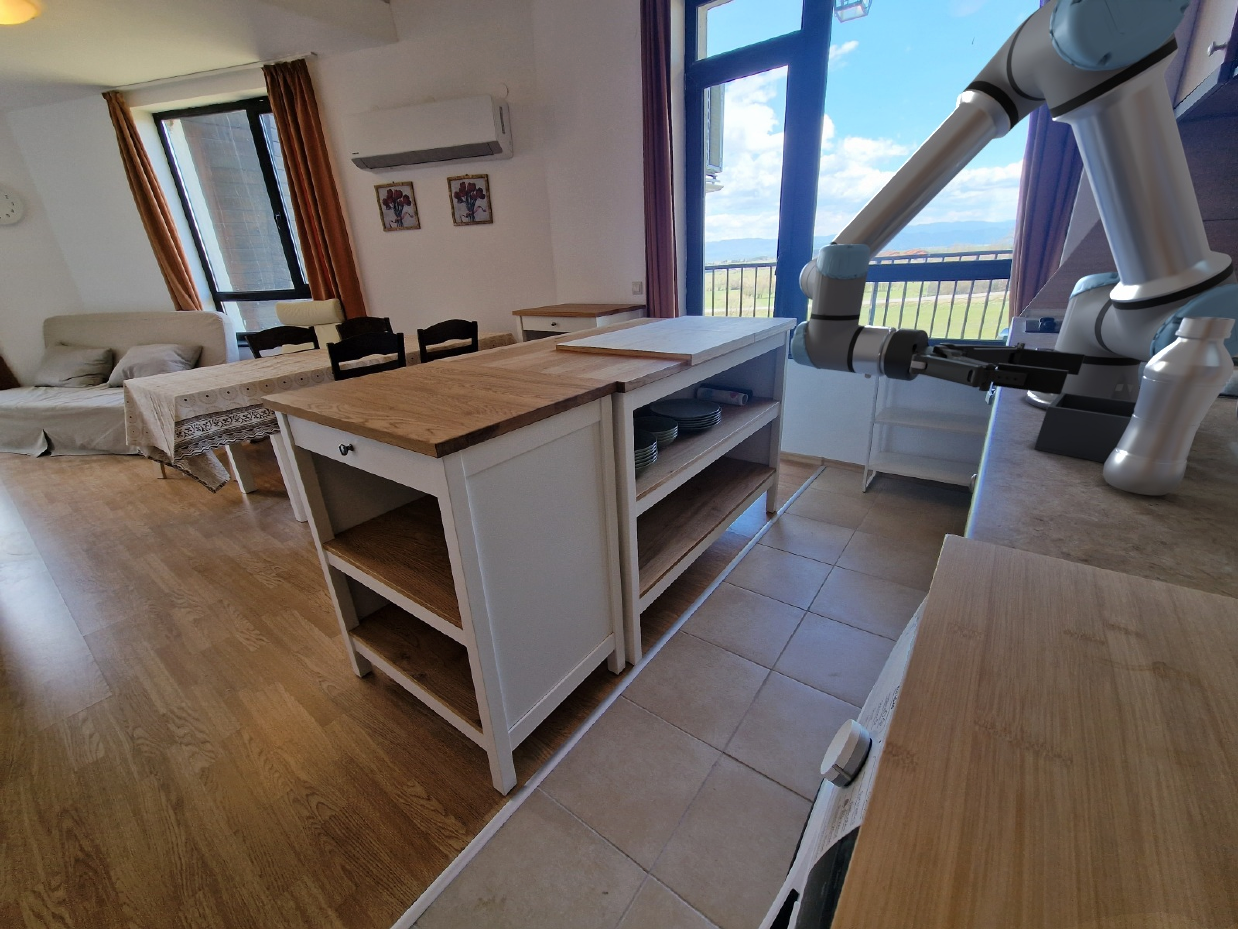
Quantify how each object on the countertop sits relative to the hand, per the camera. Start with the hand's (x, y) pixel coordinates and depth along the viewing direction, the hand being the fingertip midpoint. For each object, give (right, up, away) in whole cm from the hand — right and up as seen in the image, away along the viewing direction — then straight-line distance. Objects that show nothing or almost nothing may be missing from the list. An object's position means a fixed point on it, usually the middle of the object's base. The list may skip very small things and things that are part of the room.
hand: (1074, 372), depth 60 cm
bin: (+12, -9, +11) cm, 19 cm away
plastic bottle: (+6, -15, -1) cm, 16 cm away
